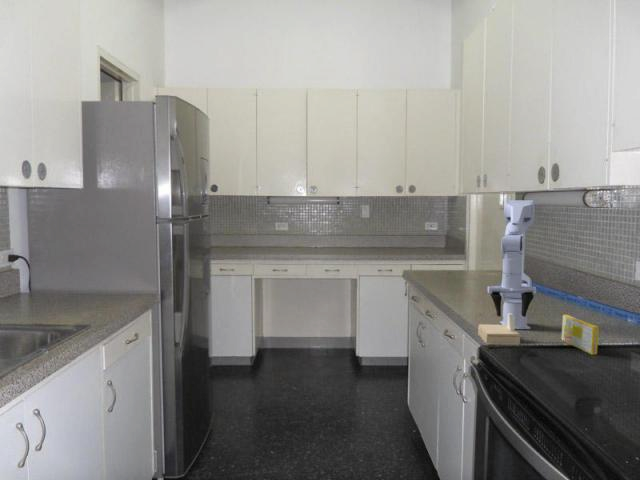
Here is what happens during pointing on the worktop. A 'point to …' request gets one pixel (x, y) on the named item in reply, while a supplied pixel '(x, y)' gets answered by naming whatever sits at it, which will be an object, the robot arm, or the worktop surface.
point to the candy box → (580, 334)
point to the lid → (501, 328)
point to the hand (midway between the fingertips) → (511, 315)
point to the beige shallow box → (498, 339)
